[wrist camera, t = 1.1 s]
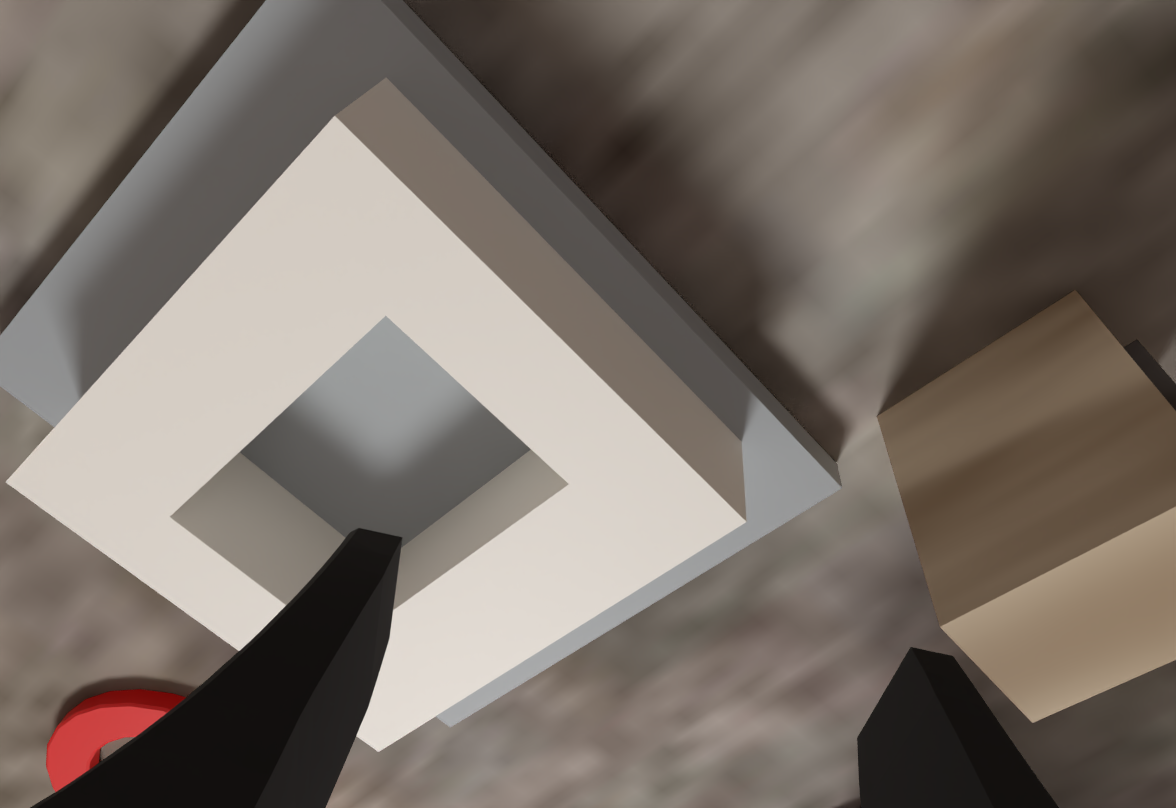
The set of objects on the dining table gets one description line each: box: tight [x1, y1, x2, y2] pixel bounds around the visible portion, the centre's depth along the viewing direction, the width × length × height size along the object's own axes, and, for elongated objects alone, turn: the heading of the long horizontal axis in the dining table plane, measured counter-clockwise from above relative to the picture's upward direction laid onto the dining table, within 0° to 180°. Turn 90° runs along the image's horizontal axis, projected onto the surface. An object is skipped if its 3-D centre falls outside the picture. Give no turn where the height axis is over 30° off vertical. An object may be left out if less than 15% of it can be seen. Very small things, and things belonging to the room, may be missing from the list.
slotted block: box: [0, 0, 842, 752], centre depth 22 cm, size 16×14×4 cm
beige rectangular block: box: [877, 290, 1176, 723], centre depth 19 cm, size 3×5×7 cm, turn 133°
